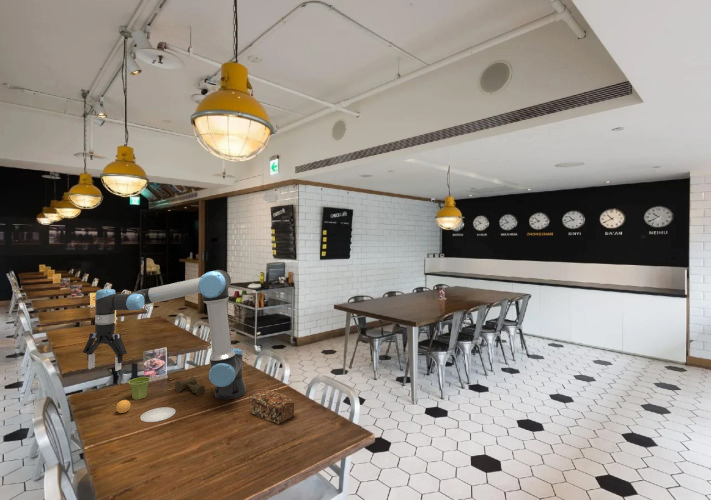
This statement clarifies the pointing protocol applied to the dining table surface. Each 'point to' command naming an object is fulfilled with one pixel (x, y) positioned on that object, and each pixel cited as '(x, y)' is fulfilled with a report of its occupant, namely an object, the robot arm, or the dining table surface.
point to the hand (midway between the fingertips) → (104, 369)
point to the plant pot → (139, 387)
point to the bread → (271, 406)
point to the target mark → (157, 414)
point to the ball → (123, 406)
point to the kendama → (190, 386)
